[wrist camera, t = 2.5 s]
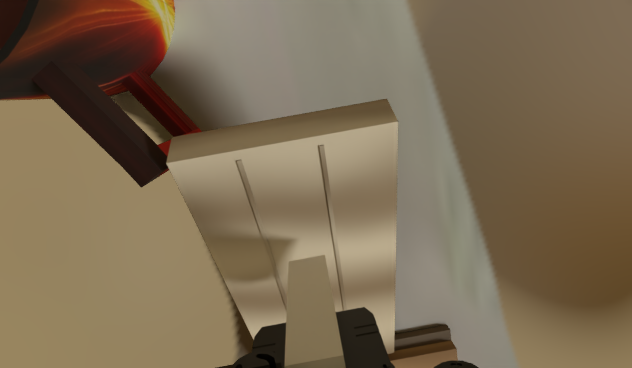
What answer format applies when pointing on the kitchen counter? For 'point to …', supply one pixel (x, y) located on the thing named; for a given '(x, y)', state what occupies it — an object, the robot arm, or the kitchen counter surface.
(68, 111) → the mug
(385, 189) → the plank
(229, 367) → the floorboard
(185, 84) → the kitchen counter surface
